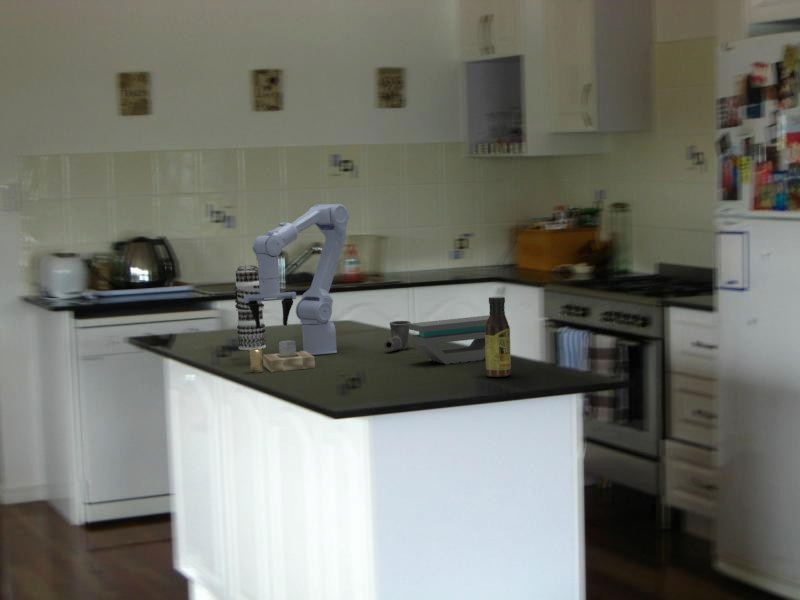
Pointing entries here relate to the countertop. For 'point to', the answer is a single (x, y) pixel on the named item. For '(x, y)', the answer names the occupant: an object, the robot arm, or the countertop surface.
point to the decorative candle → (248, 309)
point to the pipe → (398, 336)
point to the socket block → (288, 362)
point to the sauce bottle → (497, 340)
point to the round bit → (256, 360)
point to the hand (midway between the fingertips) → (271, 326)
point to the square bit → (287, 349)
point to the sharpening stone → (451, 338)
